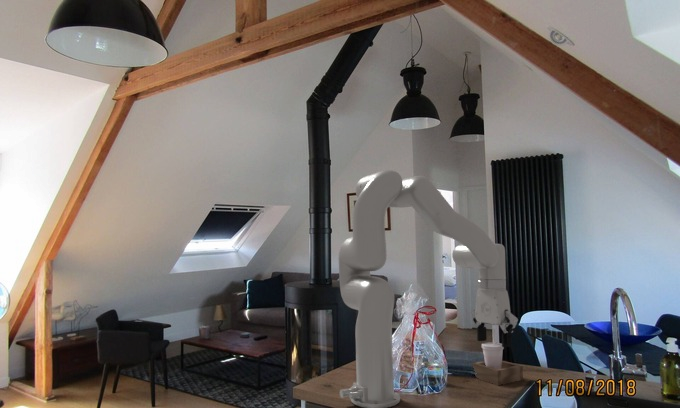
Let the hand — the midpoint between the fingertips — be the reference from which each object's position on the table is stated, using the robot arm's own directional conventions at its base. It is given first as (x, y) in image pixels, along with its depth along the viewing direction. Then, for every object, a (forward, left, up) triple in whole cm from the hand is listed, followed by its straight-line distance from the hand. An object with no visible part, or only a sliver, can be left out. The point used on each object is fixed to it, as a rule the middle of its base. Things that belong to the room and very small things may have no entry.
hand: (494, 343), depth 139 cm
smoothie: (+1, +1, -10) cm, 10 cm away
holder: (+1, 0, -10) cm, 10 cm away
